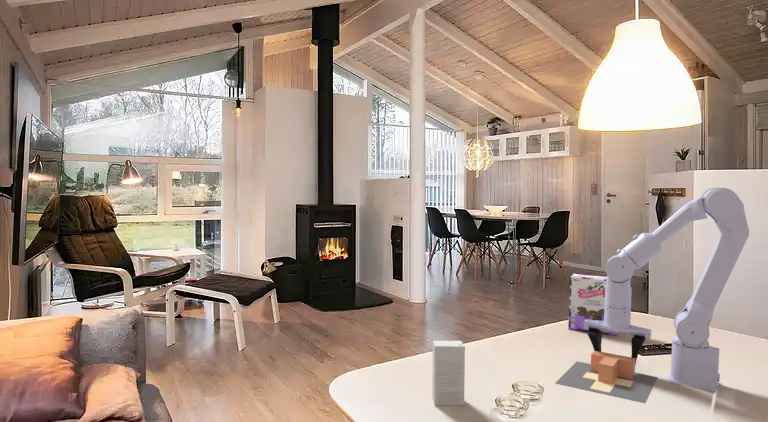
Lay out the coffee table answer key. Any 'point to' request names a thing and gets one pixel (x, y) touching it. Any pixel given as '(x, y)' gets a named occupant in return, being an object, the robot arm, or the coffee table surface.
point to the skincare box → (448, 373)
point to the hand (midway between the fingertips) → (615, 363)
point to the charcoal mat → (621, 387)
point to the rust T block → (612, 366)
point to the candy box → (586, 300)
